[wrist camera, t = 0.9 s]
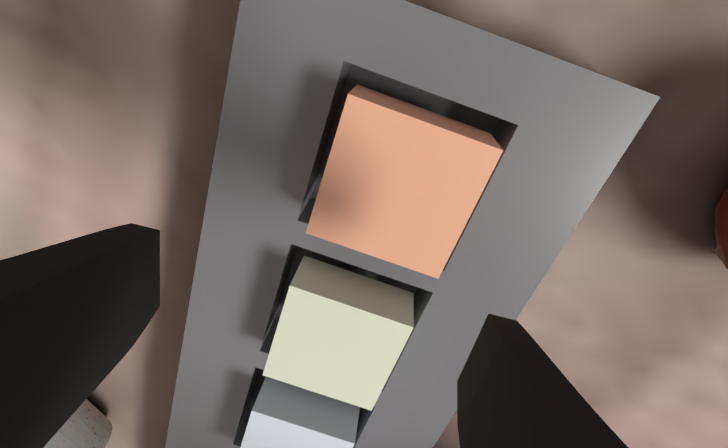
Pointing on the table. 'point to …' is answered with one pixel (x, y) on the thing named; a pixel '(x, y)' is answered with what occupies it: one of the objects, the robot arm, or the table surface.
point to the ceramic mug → (83, 429)
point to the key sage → (340, 333)
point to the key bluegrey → (299, 419)
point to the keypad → (291, 242)
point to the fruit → (722, 228)
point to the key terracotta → (401, 181)
